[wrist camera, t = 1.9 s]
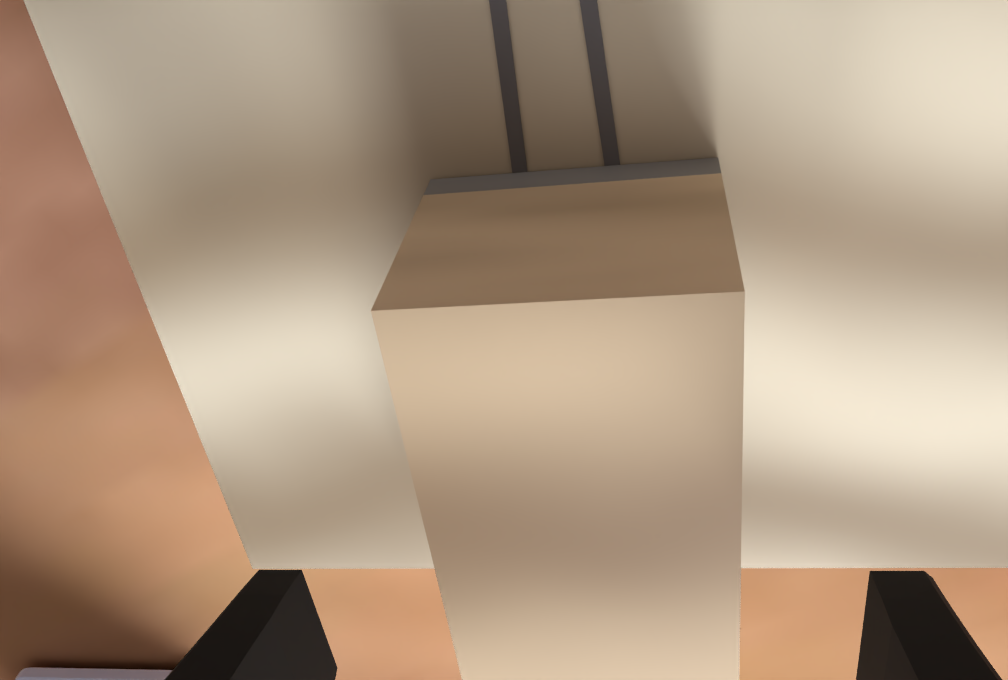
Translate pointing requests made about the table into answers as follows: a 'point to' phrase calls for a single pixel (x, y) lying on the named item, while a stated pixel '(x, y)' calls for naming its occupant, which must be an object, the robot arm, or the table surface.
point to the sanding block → (576, 417)
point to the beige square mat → (553, 146)
